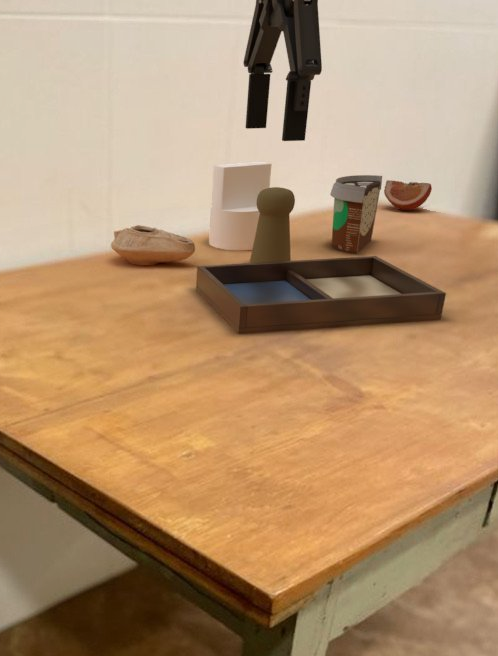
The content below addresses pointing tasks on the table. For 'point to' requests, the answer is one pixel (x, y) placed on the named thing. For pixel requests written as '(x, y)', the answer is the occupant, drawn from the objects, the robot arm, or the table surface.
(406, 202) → the fruit slice
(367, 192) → the food container
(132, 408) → the table surface
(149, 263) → the pottery oil lamp
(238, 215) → the cylinder with rectangular tab
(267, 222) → the olive knobbed cone
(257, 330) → the sorting tray
